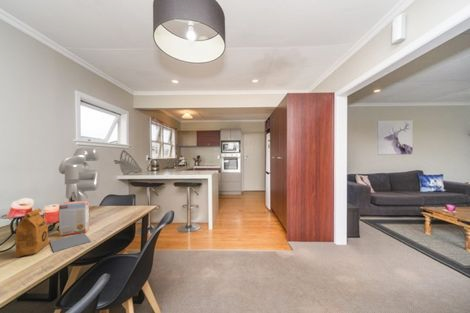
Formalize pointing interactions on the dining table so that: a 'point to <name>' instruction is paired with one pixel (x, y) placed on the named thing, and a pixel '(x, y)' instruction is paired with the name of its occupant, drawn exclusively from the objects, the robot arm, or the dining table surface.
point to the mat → (69, 242)
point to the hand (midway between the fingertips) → (71, 207)
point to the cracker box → (73, 218)
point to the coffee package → (31, 234)
